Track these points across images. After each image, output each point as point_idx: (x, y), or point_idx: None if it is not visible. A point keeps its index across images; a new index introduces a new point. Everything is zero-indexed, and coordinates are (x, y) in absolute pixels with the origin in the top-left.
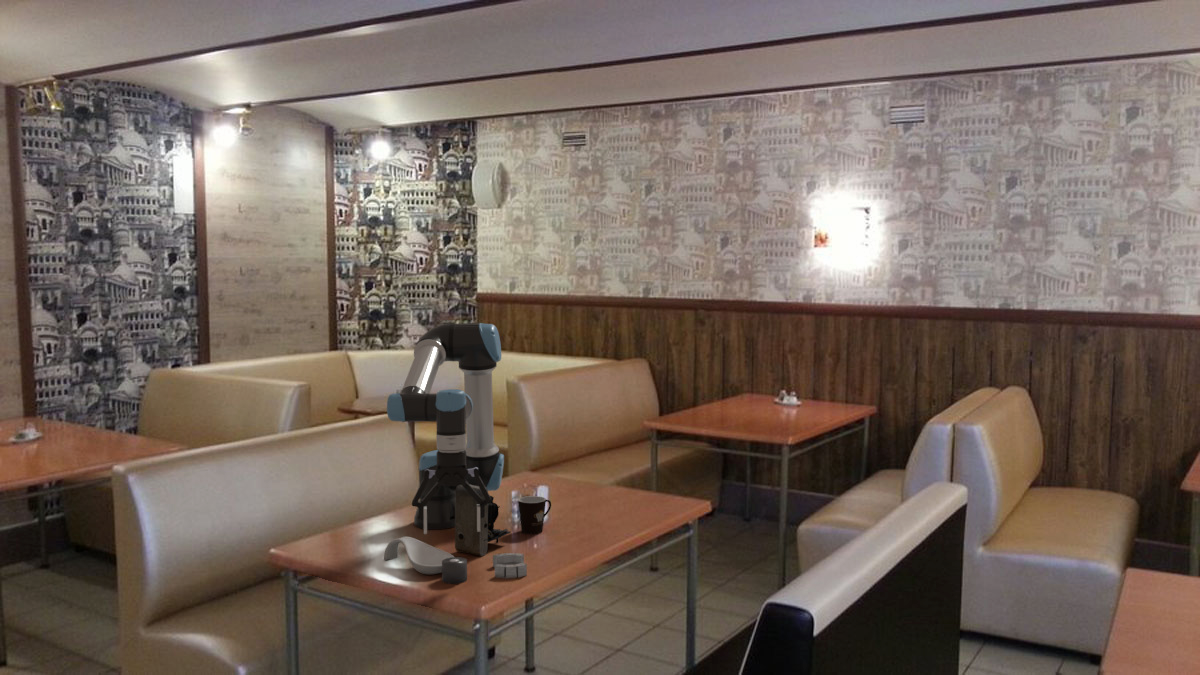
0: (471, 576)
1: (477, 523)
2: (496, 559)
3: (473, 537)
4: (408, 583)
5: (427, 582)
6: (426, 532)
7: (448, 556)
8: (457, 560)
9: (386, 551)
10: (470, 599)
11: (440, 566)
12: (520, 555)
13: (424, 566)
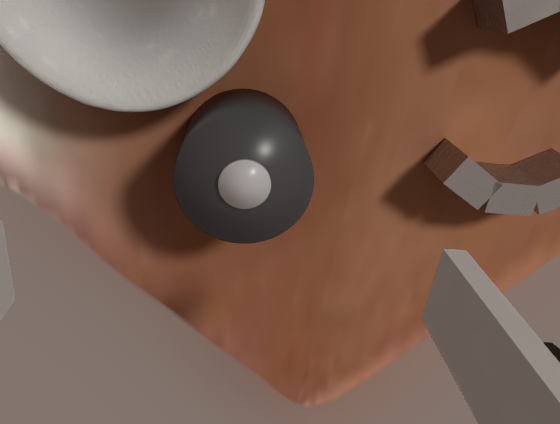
0: (327, 122)
1: (447, 365)
2: (500, 31)
3: None
4: (21, 143)
5: (115, 152)
6: (6, 307)
7: None
8: (261, 193)
9: None
10: (276, 356)
11: (171, 105)
12: None
13: (77, 99)
